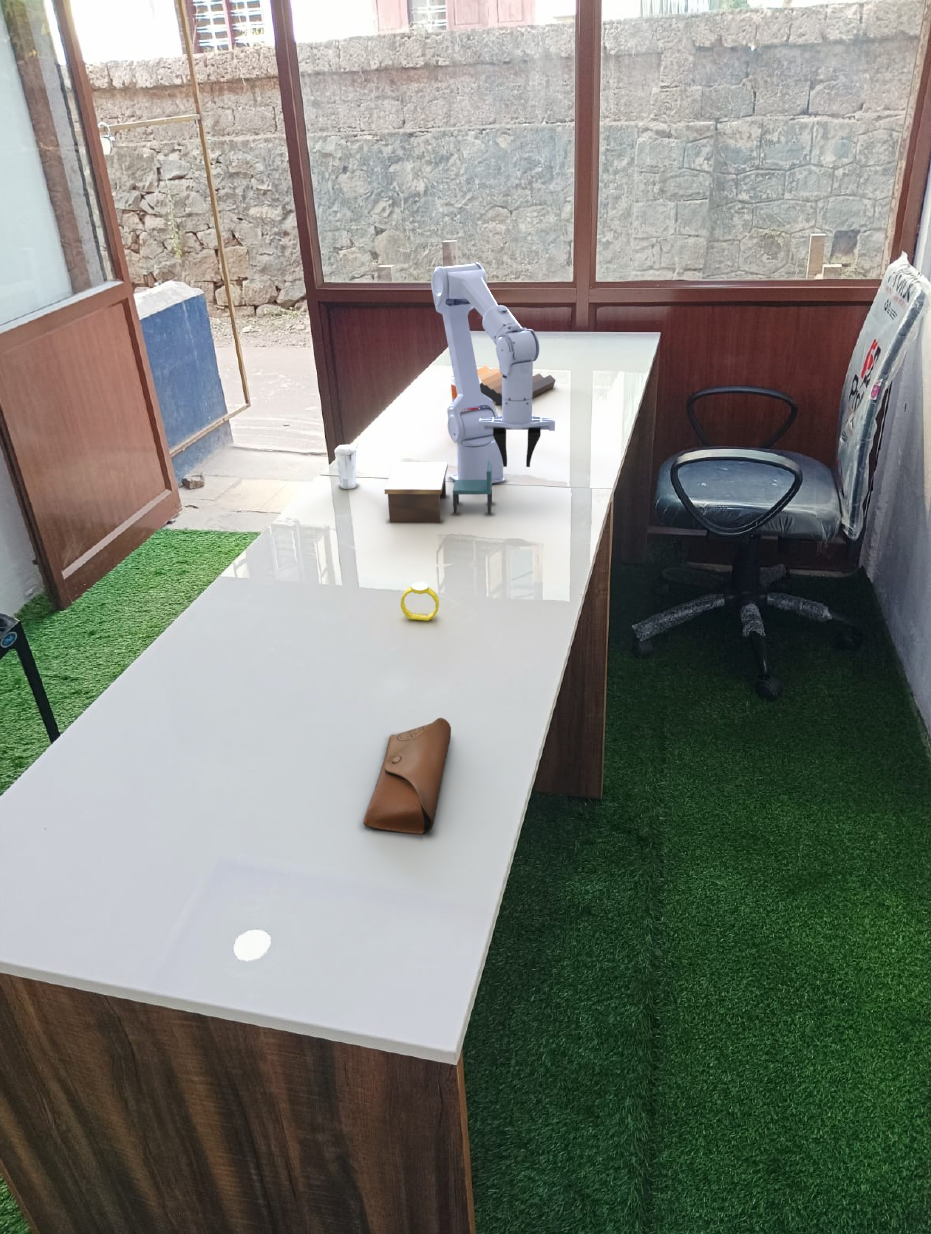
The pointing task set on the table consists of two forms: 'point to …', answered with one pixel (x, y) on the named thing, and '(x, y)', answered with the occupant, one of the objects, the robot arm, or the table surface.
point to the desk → (416, 491)
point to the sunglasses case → (410, 780)
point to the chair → (474, 488)
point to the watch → (419, 589)
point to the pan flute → (493, 384)
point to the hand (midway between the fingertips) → (516, 465)
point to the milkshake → (346, 465)
